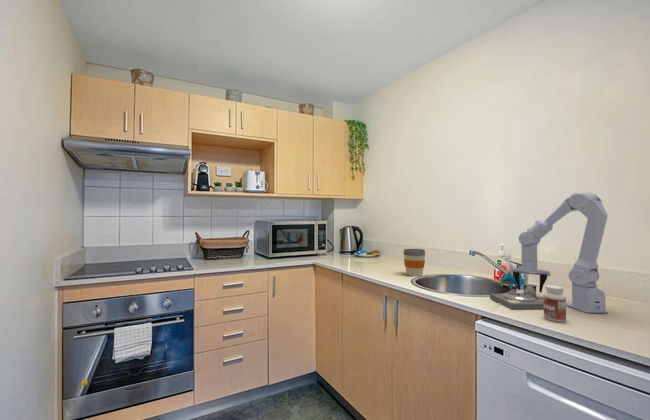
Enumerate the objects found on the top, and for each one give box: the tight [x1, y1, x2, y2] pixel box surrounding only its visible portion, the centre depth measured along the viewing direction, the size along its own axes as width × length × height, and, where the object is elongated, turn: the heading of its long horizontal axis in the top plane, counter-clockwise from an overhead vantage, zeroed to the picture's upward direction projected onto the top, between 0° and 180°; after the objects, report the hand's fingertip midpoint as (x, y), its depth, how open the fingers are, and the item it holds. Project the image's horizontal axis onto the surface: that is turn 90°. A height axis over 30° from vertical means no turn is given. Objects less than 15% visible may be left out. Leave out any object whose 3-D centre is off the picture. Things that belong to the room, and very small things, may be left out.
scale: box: [489, 292, 544, 311], centre depth 121 cm, size 15×14×3 cm
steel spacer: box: [523, 283, 537, 299], centre depth 131 cm, size 5×5×5 cm
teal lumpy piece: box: [498, 272, 526, 290], centre depth 147 cm, size 11×6×10 cm
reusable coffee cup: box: [403, 248, 426, 277], centre depth 179 cm, size 13×13×15 cm
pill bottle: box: [543, 284, 567, 323], centre depth 103 cm, size 6×6×11 cm
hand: (529, 290), depth 131 cm, fingers open, 7 cm apart
